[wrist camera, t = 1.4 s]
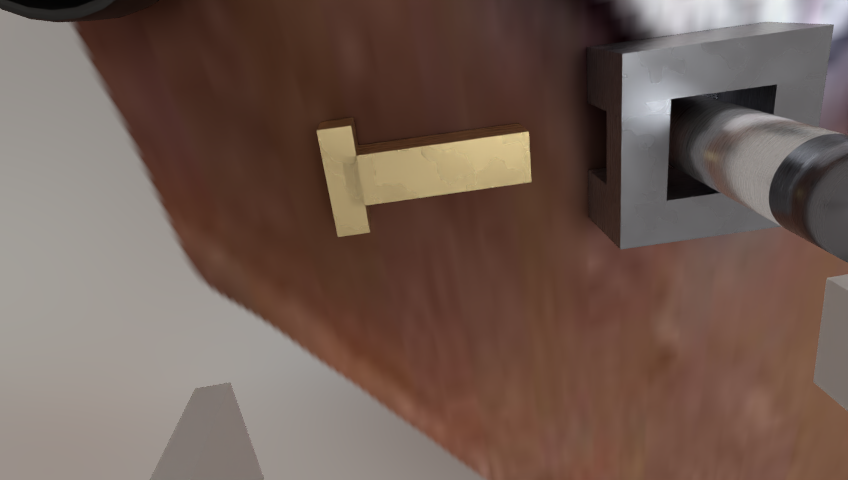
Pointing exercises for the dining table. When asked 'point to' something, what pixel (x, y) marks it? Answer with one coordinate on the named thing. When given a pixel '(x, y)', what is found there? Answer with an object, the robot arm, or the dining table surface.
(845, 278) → the robot arm
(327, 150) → the t-shaped block
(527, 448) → the dining table surface
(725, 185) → the round peg
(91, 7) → the mug
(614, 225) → the socket
